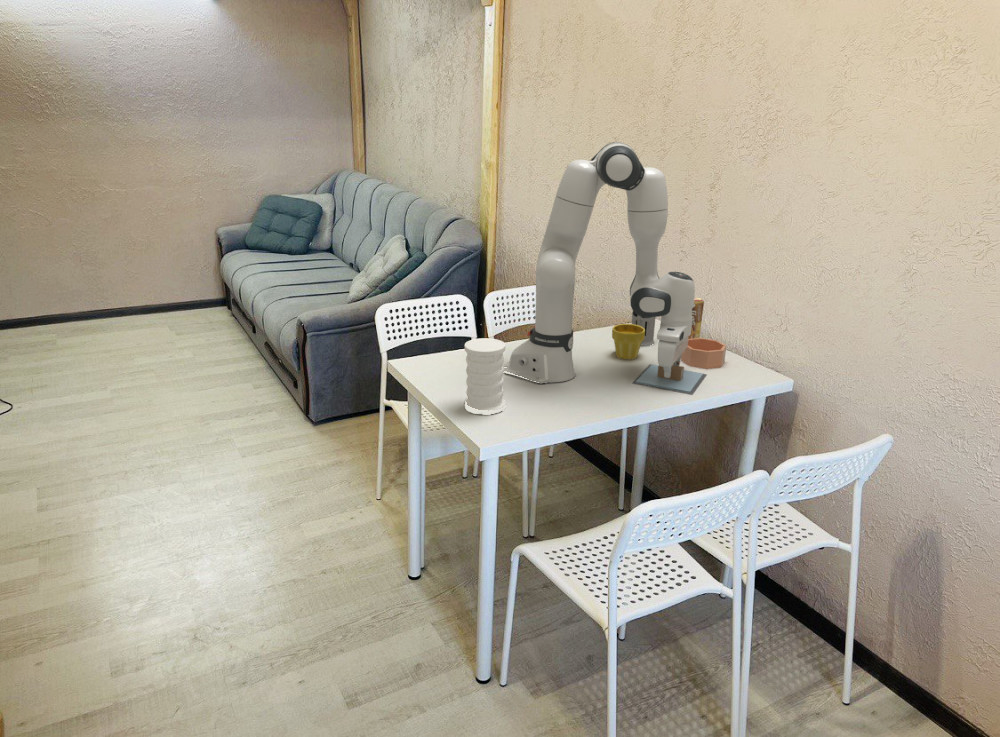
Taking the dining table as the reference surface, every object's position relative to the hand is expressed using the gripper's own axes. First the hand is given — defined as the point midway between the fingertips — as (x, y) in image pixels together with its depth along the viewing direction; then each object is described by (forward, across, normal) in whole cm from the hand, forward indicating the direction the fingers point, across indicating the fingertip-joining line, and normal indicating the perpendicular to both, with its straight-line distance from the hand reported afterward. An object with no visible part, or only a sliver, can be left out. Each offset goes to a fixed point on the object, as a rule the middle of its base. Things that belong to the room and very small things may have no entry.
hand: (671, 371), depth 211 cm
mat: (+3, 0, 0) cm, 3 cm away
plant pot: (+3, -13, -18) cm, 23 cm away
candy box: (+3, -37, -5) cm, 37 cm away
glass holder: (+3, -27, -18) cm, 33 cm away
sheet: (+2, 0, 0) cm, 2 cm away
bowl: (+3, -20, +5) cm, 21 cm away
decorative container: (+2, +44, -40) cm, 59 cm away
